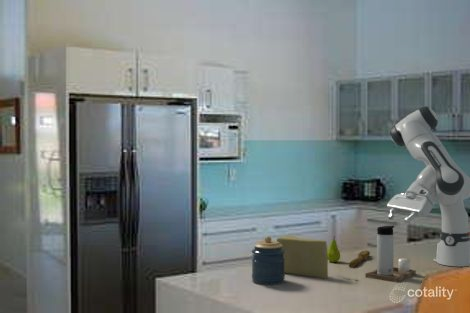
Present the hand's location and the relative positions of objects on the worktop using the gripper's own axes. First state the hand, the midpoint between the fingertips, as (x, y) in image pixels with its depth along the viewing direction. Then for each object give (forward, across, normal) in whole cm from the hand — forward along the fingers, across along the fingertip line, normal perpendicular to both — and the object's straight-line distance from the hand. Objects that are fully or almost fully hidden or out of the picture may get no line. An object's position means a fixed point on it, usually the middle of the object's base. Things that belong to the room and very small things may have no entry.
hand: (397, 220), depth 244 cm
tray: (+19, +2, +13) cm, 23 cm away
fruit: (+20, -36, +14) cm, 43 cm away
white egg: (+14, +2, +17) cm, 22 cm away
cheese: (+38, -21, -4) cm, 44 cm away
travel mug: (+20, +2, +11) cm, 23 cm away
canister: (+52, -18, -17) cm, 58 cm away
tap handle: (+12, -31, +22) cm, 40 cm away
